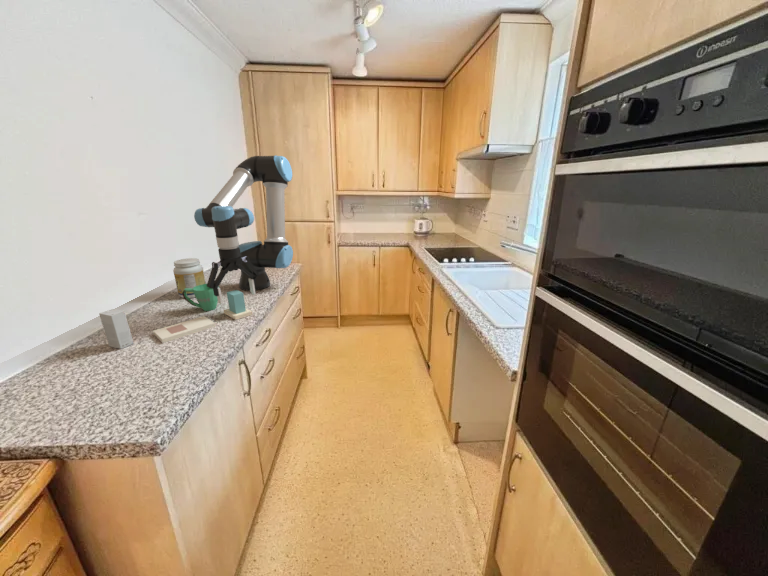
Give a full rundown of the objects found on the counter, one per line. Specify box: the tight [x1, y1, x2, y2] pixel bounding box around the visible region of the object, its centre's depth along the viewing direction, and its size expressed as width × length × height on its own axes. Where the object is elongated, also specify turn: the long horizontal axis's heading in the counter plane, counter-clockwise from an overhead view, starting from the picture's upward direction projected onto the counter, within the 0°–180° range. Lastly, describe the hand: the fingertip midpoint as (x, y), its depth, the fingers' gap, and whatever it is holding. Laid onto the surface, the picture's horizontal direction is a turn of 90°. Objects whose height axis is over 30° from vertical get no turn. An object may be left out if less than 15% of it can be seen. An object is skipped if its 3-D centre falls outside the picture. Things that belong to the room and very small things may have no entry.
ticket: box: [152, 315, 218, 344], centre depth 116 cm, size 18×10×2 cm, turn 139°
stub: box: [223, 289, 253, 321], centre depth 129 cm, size 7×10×10 cm
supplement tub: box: [172, 257, 207, 299], centre depth 150 cm, size 12×12×17 cm
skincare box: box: [99, 308, 134, 350], centre depth 104 cm, size 6×4×12 cm
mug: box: [182, 283, 220, 312], centre depth 134 cm, size 15×10×10 cm
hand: (237, 298), depth 129 cm, fingers open, 13 cm apart
